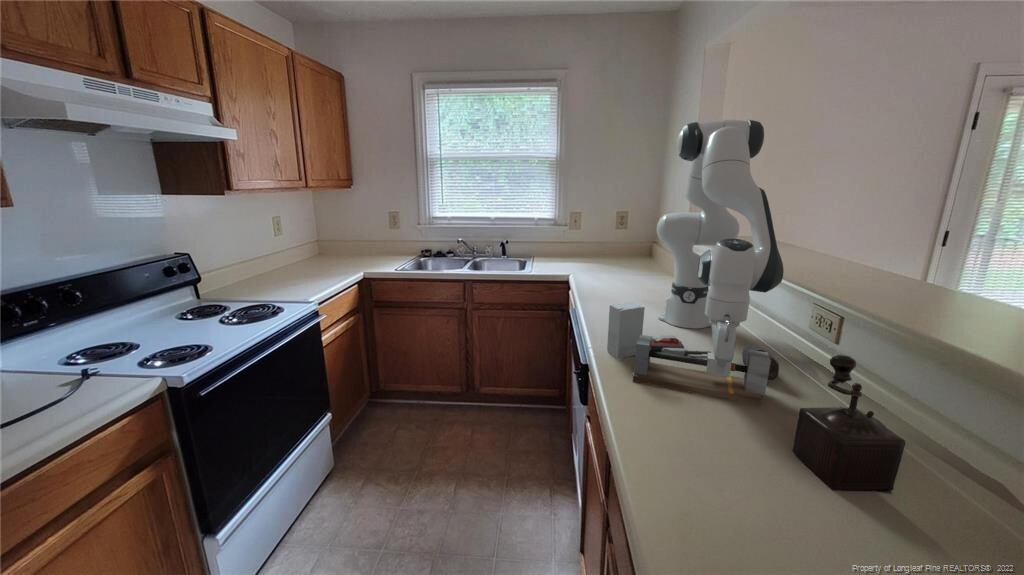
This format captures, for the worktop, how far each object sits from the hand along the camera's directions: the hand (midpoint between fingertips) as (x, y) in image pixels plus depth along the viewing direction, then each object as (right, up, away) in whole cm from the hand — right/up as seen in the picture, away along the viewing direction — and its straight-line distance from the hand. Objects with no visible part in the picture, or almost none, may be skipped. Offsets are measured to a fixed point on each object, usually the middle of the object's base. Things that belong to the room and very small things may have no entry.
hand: (718, 364), depth 99 cm
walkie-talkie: (-2, -1, +24) cm, 24 cm away
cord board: (-5, -5, +3) cm, 8 cm away
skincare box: (-17, -1, +22) cm, 28 cm away
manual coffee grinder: (+8, -13, -25) cm, 29 cm away
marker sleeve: (0, -2, +1) cm, 2 cm away
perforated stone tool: (+15, -4, +10) cm, 18 cm away
